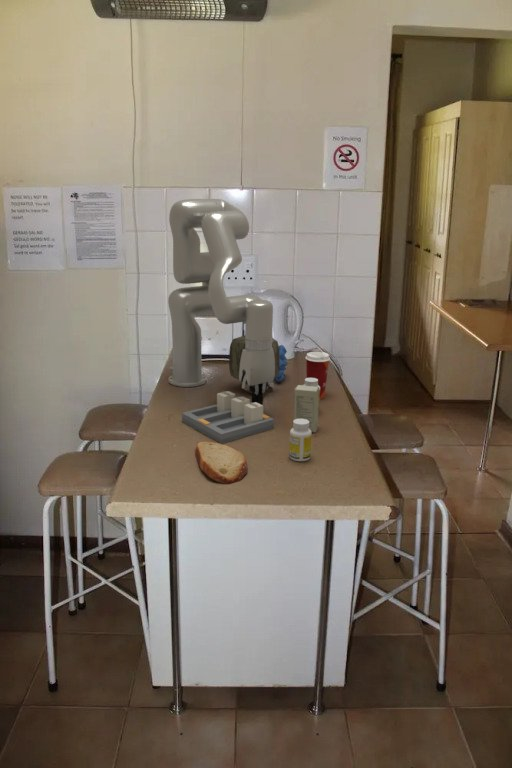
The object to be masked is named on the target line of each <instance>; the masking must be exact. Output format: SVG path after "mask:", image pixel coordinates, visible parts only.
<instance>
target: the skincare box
mask: <svg viewBox="0 0 512 768" xmlns="http://www.w3.org/2000/svg"><path fill="white" fill-rule="evenodd" d="M293 393H294V396H293V397H294V399H293V401H294V405H293V407H294V408H293V409H294V411H293V412H294V414H293V416H294V417H293V421H294V420H295V419H306V420H308V421H309V429H310V430H311V433H316V432H317V430H318V428H319V412H318V408H319V409H320V402H319V387H317V386H305V385H304V384H298V385H297V386H296V387H294V392H293Z"/></svg>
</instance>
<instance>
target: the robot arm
mask: <svg viewBox="0 0 512 768" xmlns="http://www.w3.org/2000/svg"><path fill="white" fill-rule="evenodd" d="M168 216H169V218H168V219H169V221H168V222H169V226H170V230H171V235H172V270H173V277H174V280H175V281H176V283H179V284H183V285H184V284H185V285H187V284H188V285H189V284H190V285H191V284H199V283H201V285H198V286H197V285H196V286H187V287H180V288H176V289H174V290H173V291H172V292H170V294H169V295H168V298H167V299H168V300H167V301H168V302H167V304H168V308H169V313H170V319H171V335H172V337H171V339H172V342H171V343H172V344H171V345H172V365H171V366H169V370H170V371H172V374H171V375H170V376H169V377H168V378H167V379H168V380H167V381H168V383H169V384H171V385H172V386H175V387H181V388H182V387H183V388H189V387H190V388H191V387H192V388H193V387H199V386H202V385H204V384H205V383H206V382H207V377H206V376H205V375H204V374H202V371H203V370H202V329H201V326H200V324H199V323H198V322H197V320H196V317H200V316H208V315H212V314H214V316H215V318H216V319H217V321H219V322H220V323H221V324H224V325H230V324H238V323H245V324H244V325H245V327H244V328H245V330H244V332H245V333H244V334H245V335H244V336H245V349H243V351H242V355H241V360H240V369H239V382H240V383H241V389H242V390H245V391H246V390H250V392H249V393H251V403H254V402H257V403H259V404H261V405H263V406H264V394H265V392H266V390H267V388H268V385H269V386H270V385H271V384H273V382H274V380H275V379H274V376H275V358H274V351H273V348H272V342H274V339H275V338H274V337H273V317H274V316H273V314H274V307H273V305H274V304H273V303H272V301H270V300H266V299H263V298H262V299H261V298H260V297H259V296H257V295H255V294H243V295H233V296H227V293H226V291H225V289H224V277H225V275H226V274H227V273H229V272H231V271H232V270H234V269H236V268H237V267H239V266H240V264H241V263H242V260H243V256H242V254H241V250H240V248H239V245H238V242H237V240H239V241H240V240H243V239H245V238H247V236H248V234H249V231H250V224H249V223H250V222H249V220H248V218H247V216H246V215H245V213H244V212H243V211H242V210H240V209H239V208H237V207H236V206H234V205H233V204H231V203H229V202H228V201H226V200H223V199H220V198H206V199H205V198H188V199H181V200H178V201H176V202H175V203H174V204H173V205H172V206H171V207H170V210H169V215H168ZM196 229H201V231H202V234H203V237H204V240H205V243H206V247H207V249H208V251H203V252H201V239H200V236H199V233H198V232H197V230H196ZM242 382H243V383H242Z"/></svg>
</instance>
